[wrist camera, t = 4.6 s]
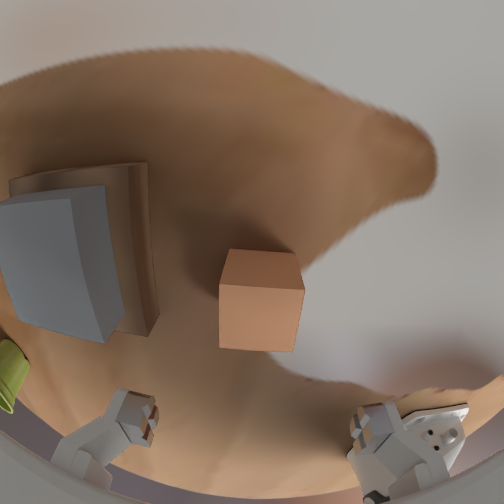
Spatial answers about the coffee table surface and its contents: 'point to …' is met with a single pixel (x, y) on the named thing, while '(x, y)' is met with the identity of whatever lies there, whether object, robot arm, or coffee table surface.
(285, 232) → the coffee table surface
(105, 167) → the lower tower block
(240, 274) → the rust cube
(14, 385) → the plant pot
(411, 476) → the robot arm
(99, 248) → the upper tower block
